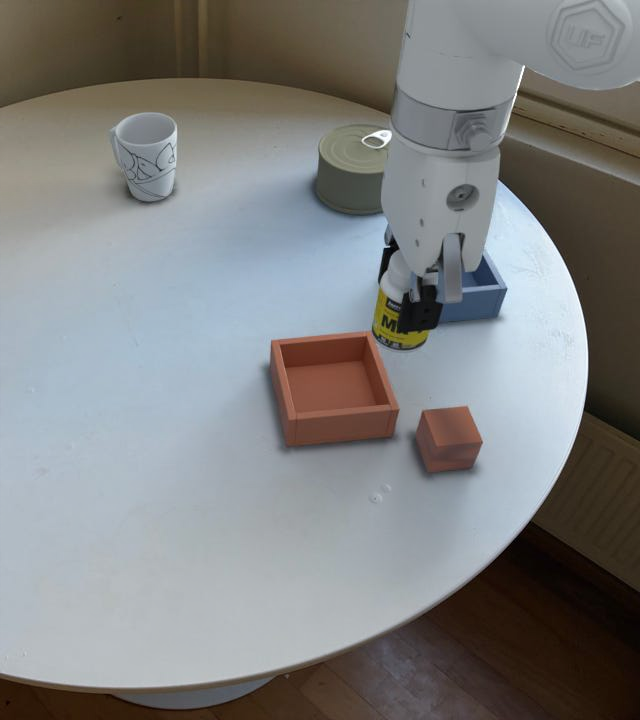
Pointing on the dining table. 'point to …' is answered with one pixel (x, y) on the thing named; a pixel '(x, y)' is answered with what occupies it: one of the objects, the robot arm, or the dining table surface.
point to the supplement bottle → (396, 308)
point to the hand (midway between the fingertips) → (406, 303)
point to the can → (353, 168)
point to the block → (448, 439)
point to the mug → (146, 154)
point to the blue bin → (477, 293)
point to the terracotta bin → (332, 389)
